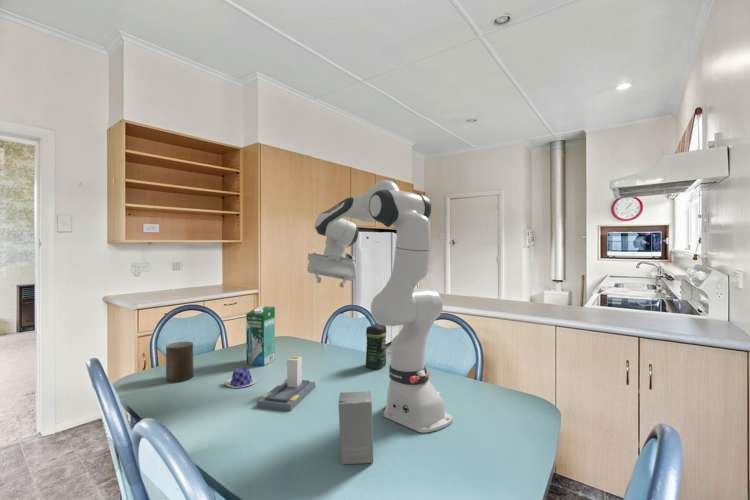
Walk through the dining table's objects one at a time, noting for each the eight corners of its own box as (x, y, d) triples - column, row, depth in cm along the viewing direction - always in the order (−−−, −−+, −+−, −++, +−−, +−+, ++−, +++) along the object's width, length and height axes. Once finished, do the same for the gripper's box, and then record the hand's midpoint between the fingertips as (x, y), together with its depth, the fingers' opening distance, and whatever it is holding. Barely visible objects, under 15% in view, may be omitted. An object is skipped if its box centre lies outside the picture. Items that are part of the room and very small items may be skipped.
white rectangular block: (292, 382, 135) (292, 355, 134) (302, 383, 134) (301, 355, 133) (287, 386, 131) (287, 358, 130) (297, 387, 130) (297, 359, 130)
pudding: (217, 387, 136) (217, 373, 136) (237, 376, 148) (237, 363, 148) (245, 390, 133) (245, 376, 133) (263, 379, 145) (263, 366, 145)
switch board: (286, 384, 138) (286, 377, 138) (315, 387, 136) (315, 379, 136) (257, 406, 119) (257, 398, 119) (290, 410, 116) (290, 402, 116)
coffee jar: (379, 371, 153) (379, 327, 153) (363, 368, 157) (363, 325, 156) (388, 364, 162) (388, 323, 162) (373, 361, 165) (373, 321, 165)
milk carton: (246, 364, 162) (246, 308, 161) (258, 358, 170) (258, 305, 170) (263, 366, 159) (263, 309, 159) (275, 360, 168) (274, 306, 167)
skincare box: (372, 449, 94) (372, 389, 94) (373, 466, 87) (373, 401, 87) (340, 450, 94) (340, 390, 94) (338, 467, 87) (338, 401, 87)
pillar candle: (192, 380, 142) (192, 342, 142) (163, 384, 138) (163, 345, 138) (194, 372, 151) (194, 337, 151) (168, 375, 147) (168, 339, 147)
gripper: (310, 247, 148) (305, 275, 139) (358, 257, 152) (356, 285, 144) (308, 256, 153) (303, 283, 144) (354, 266, 157) (352, 293, 148)
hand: (330, 284), depth 144 cm, fingers open, 8 cm apart
